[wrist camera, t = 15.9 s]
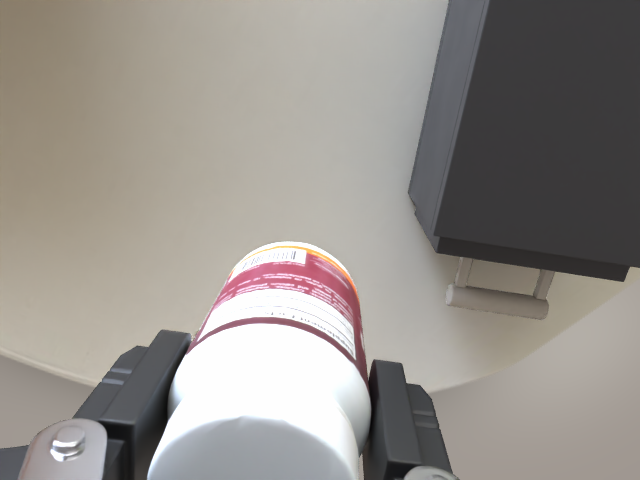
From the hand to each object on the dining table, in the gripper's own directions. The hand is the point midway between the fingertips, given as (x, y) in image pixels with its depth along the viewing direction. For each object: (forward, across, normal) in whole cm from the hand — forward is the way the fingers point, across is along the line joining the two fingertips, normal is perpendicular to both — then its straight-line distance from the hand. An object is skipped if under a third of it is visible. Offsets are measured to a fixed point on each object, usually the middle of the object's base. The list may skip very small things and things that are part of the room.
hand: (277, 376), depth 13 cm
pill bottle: (+5, 0, 0) cm, 5 cm away
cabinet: (+23, -12, -7) cm, 27 cm away
